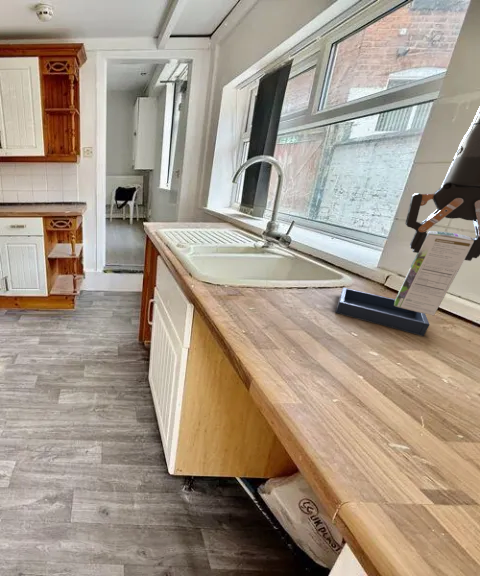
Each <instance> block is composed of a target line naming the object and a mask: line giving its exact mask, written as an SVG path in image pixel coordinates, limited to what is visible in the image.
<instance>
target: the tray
mask: <svg viewBox="0 0 480 576" xmlns="http://www.w3.org/2000/svg"><path fill="white" fill-rule="evenodd" d="M395 299H396V298H391V297H387V296H383V295H378V294H374V293H369V292H365V291H360V290H356V289H351V288H348V287H342V290H341V292H340V294H339V297H338V302H337V304H336V305H337V306H336V310H335V313H336V314H340V315H343V316H347V317H351V318H353V319H357V320H362V321H365V322H369V323H373V324H376V325H381V326H384V327H387V328H391V329H395V330H398V331H399V330H400V331H402V332H406V333H410V334H414V335H418V336H420V337H424V336H425V334H426V332H427V331H428V329H429V327H430V322H429V319H428V317H427V314H424V313H420V312H416V311H412V310H408V309H404V308H400V307H396V306H394V302H395Z"/></svg>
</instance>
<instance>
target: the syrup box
mask: <svg viewBox="0 0 480 576" xmlns="http://www.w3.org/2000/svg"><path fill="white" fill-rule="evenodd" d="M426 233H427V236H426V238H425V240H424V242H423V244H422V247H421V249H420V251H419V252H418V253H416V255H415V257H414V258H413V261H412V263H411V264H410V267H409V269H408V271H407V272H406V273H407V274H406V276H405V278H404V280H403V282H402V284H401V287H400V289H399V291H398V292H397V295H396V296H395V298H394V299H395V302H394V306H396V307H400V308H404V309H408V310H412V311H416V312H420V313H424V314H425V315H429V316H435V314H436V313H437V311H438V309H439V307H440V306H441V304H442V302H443V300H444V298H445V296H446V295H447V293H448V291H449V289H450V288H451V286H452V283H453V282H454V280H455V278H456V276H457V274H458V272H459V270H460V269H461V267H462V266H463V264H464V261H466V260H465V258H466V256H467V254H468V252H469V250H470V248H471V246H472V244H473V243H474V240H473V237H472V236H468V235H465V234H460V233H456V232H450V231H438V230H436V231H435V230H428V232H426Z"/></svg>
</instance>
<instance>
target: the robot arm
mask: <svg viewBox="0 0 480 576" xmlns="http://www.w3.org/2000/svg"><path fill="white" fill-rule="evenodd" d="M430 200H432V202H433V203H434V205H435V207H436V209H435V211H433V212H432V213H431V214H429V215H428V216H427V217H426V218H425V219H424V220H423V221H422V222H420V221H417V220H418V218H419V217H418V216H419V212H420V209H421V207H423V206H426V205H427V203H428V202H429V201H430ZM444 218H445V219H454V220H455V219H461V220H465V221H472V224H473V227H474V231H475V237H472V239H473V240H474V243H473V244H472V246H471V248H470V250H469V252H468V254H467V256H466V258H465V260H464V261H469V262H471V261H472V260H473V259H477V258H479V257H480V107H479V108H478V110H477V112H476V115H475V116H474V119H473V121H472V122H471V125H470V127H469V129H468V130H467V132H466V133H465V135H464V136H463V139H462V140H461V142H460V144H459V146H458V149H457V151H456V153H455V155H454V157H453V159H452V162H451V164H450V165H449V168H448V171H447V173H446V175H445V177H444V180H443V181H442V184H441V186H440V187H439V188H438V189H437V190H435V192H434V193H419V192H416V193H414V194H412V195H411V199H410V203H409V206H408V210H407V214H406V219H405V226H406V227H408V228H409V229H413V230H415V233H414V234H413V237H412V239H411V242H410V243H409V248H410V249H412V250H411V251H412V253H415V254H417V253H418V252H419V251H420V249H421V247H422V244H423V242H424V240H425V238H426V236H427V233H428V232H427V231H429V230H430V229H432V227H433V226H435V225H436V224H437V223H439V222H440V221H442V220H443V219H444Z"/></svg>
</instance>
